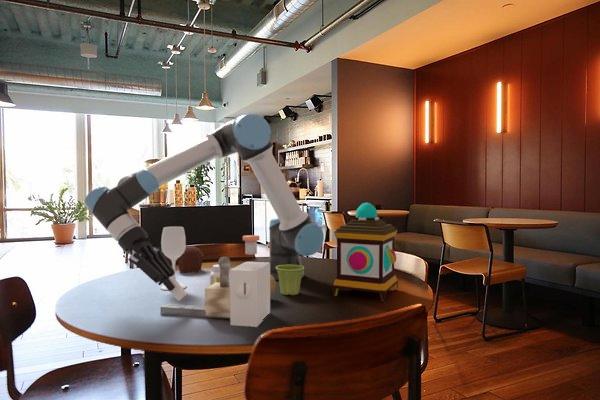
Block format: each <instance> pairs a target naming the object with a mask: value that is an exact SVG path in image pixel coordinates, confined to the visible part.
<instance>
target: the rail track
mask: <svg viewBox="0 0 600 400" xmlns="http://www.w3.org/2000/svg"><path fill="white" fill-rule="evenodd" d="M159 309H160V315H168V316H180V317H193V318H195V317H196V318H209V319H223V320H230V317H217V316H206V311H205V305H202V306H201V305H190V304H189V305H188V304H187V305H186V304H176V303H175V304H172V303H166V304H163V305H161V306H160V308H159Z"/></svg>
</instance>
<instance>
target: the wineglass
mask: <svg viewBox="0 0 600 400" xmlns="http://www.w3.org/2000/svg"><path fill="white" fill-rule="evenodd" d="M186 240H187V238H186V233H185V228H184V227H183V226H165V227H163V229H162V233H161V240H160V245H161V246H160V248H161V250H162V253H163V254H164V256H165V257H166V258H167V259H169V260H170V261H171V267H172V268H173V270H174V271H175V272H176V262H177V261H178V259H177V258H179V257H180V256H181V255H182V254H183V253H184V251H185V248H186V247H187V243H186V242H187V241H186ZM173 277H174V279H175V280H176V281H177V277H176V273H175V274H174V275H173ZM178 283H179V284H180V286H181V287H182V288H183V289H184V290H185V289H186V288H187V287H188V285H186V284H185V283H180V282H178ZM160 289H161V290H162V291H169V290H168V289H167V288H166V286H165V285H164V284H163V285H162V286H161V287H160Z"/></svg>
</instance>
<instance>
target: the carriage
mask: <svg viewBox="0 0 600 400" xmlns="http://www.w3.org/2000/svg"><path fill="white" fill-rule="evenodd" d="M218 264H219V266H220V283H217V282H216V283H214V284H212V285H208V286H207V287H205V288H204V306H205V311H206V316H217V317H230V266H231V259H230V258H229V257H227V256H221V257H220V258H219V259H218V263H217V265H218Z"/></svg>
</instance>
